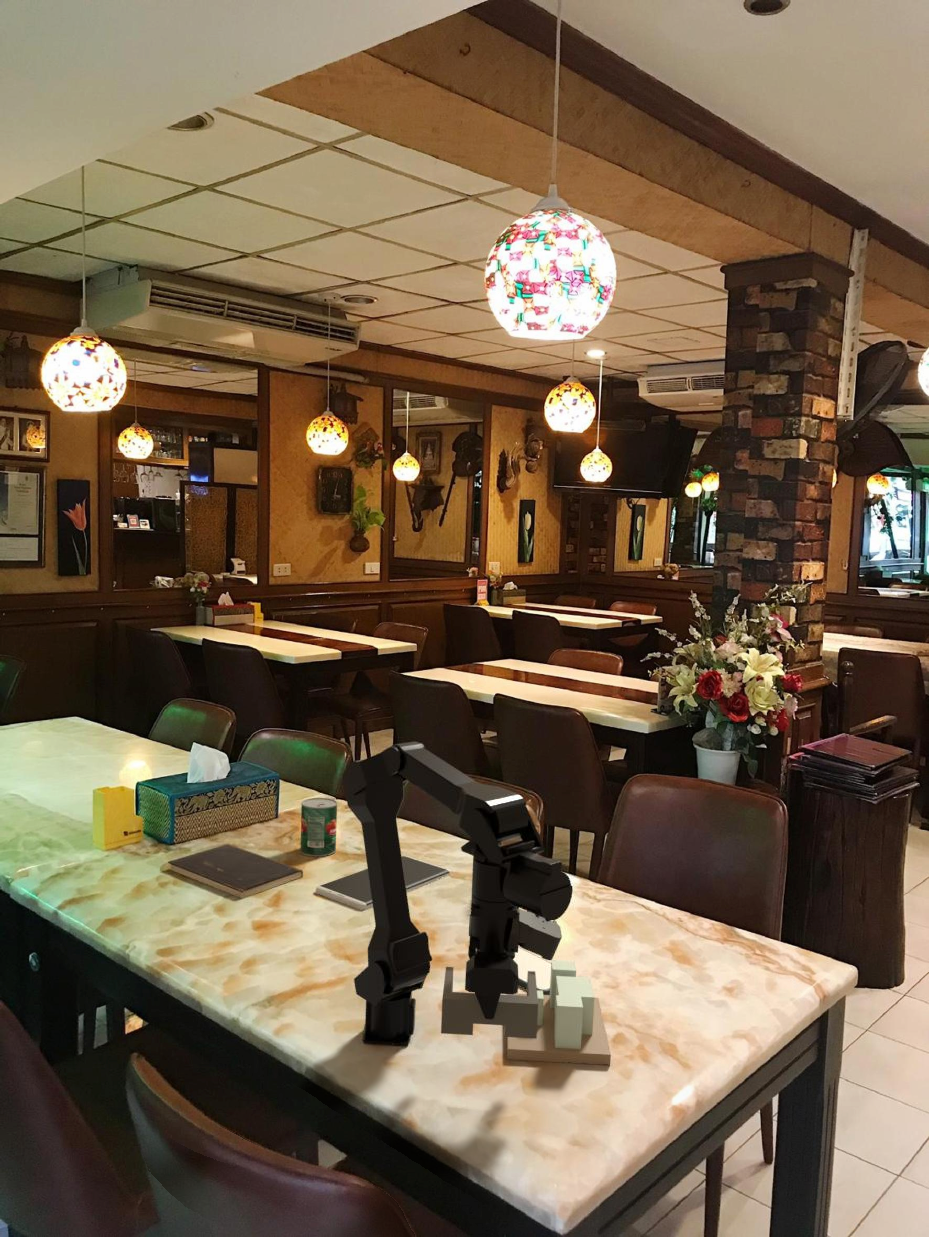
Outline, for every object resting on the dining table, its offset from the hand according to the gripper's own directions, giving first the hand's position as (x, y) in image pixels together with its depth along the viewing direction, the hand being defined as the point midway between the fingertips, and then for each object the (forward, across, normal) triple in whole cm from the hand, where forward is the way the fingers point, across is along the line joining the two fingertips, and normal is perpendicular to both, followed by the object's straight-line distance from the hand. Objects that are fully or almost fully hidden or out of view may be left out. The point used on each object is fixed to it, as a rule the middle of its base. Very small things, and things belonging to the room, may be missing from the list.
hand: (489, 1013), depth 121 cm
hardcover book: (+12, +73, +52) cm, 90 cm away
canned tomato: (+11, +89, +38) cm, 98 cm away
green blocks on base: (+11, +17, -10) cm, 23 cm away
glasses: (+2, +3, 0) cm, 4 cm away
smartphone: (+12, +72, +21) cm, 76 cm away
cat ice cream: (+11, +73, -6) cm, 74 cm away
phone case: (+12, +36, -6) cm, 38 cm away
